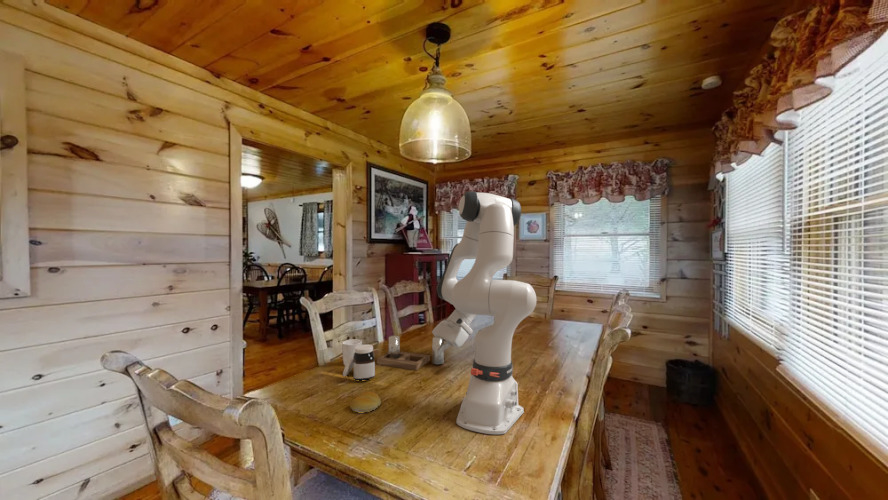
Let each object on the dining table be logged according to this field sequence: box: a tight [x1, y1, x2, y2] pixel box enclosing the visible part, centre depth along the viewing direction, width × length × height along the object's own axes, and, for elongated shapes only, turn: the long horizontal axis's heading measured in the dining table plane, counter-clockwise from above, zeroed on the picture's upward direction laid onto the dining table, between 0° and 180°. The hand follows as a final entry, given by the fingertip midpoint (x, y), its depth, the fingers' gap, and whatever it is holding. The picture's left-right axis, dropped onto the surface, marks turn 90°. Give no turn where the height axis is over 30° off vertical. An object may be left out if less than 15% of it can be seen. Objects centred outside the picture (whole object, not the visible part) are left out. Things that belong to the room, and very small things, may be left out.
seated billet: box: [388, 335, 401, 359], centre depth 141 cm, size 4×4×10 cm
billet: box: [432, 336, 445, 365], centre depth 137 cm, size 4×4×10 cm
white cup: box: [341, 338, 363, 367], centre depth 138 cm, size 8×8×10 cm
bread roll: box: [350, 391, 382, 412], centre depth 103 cm, size 8×9×4 cm
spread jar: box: [342, 344, 376, 381], centre depth 126 cm, size 12×11×12 cm
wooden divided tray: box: [376, 350, 431, 371], centre depth 139 cm, size 12×18×3 cm, turn 67°
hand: (436, 349), depth 137 cm, fingers closed on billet, 4 cm apart
